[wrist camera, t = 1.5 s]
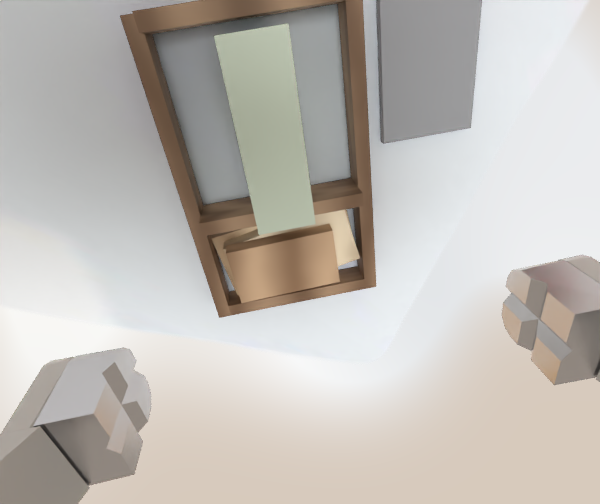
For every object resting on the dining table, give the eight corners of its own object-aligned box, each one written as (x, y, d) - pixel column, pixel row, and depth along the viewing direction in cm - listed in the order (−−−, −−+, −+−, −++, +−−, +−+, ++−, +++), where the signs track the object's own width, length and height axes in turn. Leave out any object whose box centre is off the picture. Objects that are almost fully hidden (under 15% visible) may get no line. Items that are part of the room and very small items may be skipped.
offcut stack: (237, 287, 40) (237, 313, 36) (211, 230, 36) (208, 253, 32) (354, 250, 40) (366, 273, 36) (339, 190, 36) (351, 208, 32)
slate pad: (381, 141, 34) (383, 143, 33) (373, -92, 26) (377, -96, 25) (466, 126, 34) (470, 127, 33) (485, -109, 26) (492, -113, 25)
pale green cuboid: (254, 186, 34) (258, 235, 26) (222, 36, 28) (213, 35, 20) (297, 178, 34) (315, 224, 26) (274, 28, 28) (288, 23, 20)
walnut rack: (220, 302, 40) (218, 327, 37) (129, 17, 27) (113, 14, 23) (369, 273, 41) (380, 295, 37) (352, -19, 28) (367, -27, 24)
